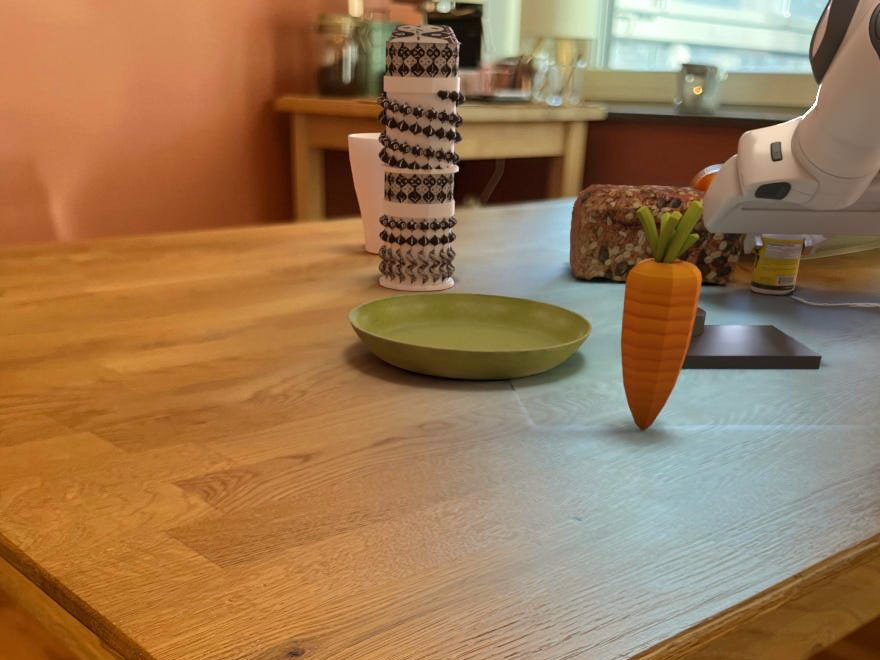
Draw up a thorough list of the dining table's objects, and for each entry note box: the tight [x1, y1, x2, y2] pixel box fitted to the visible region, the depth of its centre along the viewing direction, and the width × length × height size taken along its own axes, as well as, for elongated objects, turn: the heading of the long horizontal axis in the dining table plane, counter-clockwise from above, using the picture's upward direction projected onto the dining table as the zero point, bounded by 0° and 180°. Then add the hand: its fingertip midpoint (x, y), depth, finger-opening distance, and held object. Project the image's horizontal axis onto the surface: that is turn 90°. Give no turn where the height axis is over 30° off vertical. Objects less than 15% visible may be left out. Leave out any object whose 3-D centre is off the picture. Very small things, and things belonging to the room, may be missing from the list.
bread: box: [569, 183, 744, 285], centre depth 119 cm, size 19×11×10 cm, turn 87°
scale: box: [681, 306, 823, 370], centre depth 90 cm, size 14×12×3 cm
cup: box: [347, 132, 385, 255], centre depth 129 cm, size 10×10×14 cm
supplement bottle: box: [750, 234, 805, 296], centre depth 113 cm, size 5×5×8 cm
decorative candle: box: [376, 23, 467, 292], centre depth 108 cm, size 9×9×25 cm
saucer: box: [347, 292, 593, 381], centre depth 87 cm, size 21×21×3 cm
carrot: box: [620, 201, 704, 432], centre depth 68 cm, size 5×5×15 cm
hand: (777, 249), depth 113 cm, fingers closed on supplement bottle, 5 cm apart
